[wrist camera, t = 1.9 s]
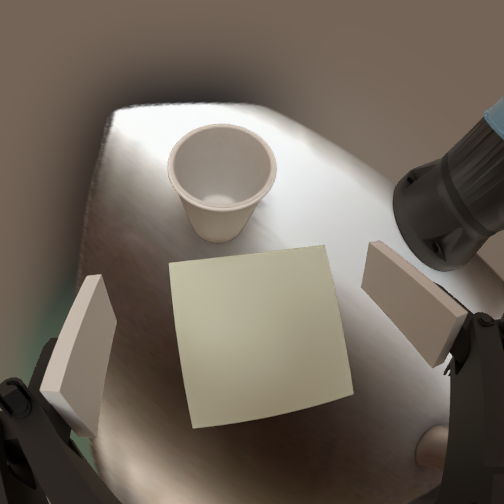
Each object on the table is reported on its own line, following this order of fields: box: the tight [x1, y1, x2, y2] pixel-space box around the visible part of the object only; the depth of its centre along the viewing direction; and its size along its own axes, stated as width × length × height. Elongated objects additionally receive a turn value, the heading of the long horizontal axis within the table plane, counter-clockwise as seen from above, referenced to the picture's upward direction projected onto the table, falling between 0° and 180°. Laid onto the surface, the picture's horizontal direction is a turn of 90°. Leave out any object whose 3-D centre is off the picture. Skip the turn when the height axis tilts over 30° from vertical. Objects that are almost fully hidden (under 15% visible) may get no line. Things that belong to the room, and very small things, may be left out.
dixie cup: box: [168, 124, 277, 243], centre depth 26 cm, size 8×8×10 cm
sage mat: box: [169, 245, 354, 428], centre depth 27 cm, size 16×16×1 cm
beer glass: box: [415, 425, 449, 471], centre depth 17 cm, size 7×7×15 cm
